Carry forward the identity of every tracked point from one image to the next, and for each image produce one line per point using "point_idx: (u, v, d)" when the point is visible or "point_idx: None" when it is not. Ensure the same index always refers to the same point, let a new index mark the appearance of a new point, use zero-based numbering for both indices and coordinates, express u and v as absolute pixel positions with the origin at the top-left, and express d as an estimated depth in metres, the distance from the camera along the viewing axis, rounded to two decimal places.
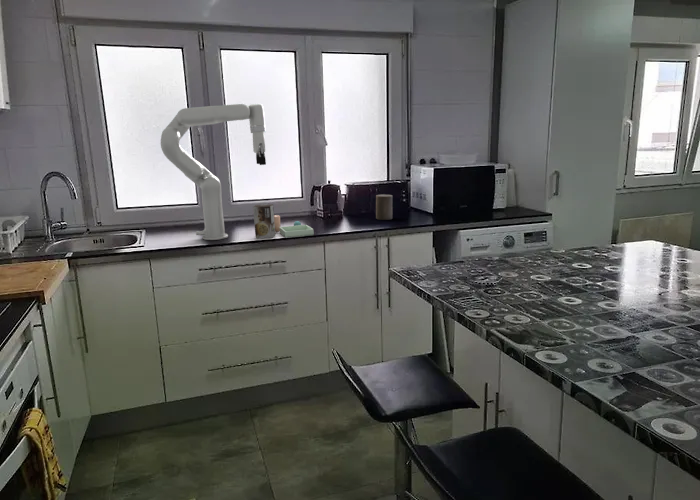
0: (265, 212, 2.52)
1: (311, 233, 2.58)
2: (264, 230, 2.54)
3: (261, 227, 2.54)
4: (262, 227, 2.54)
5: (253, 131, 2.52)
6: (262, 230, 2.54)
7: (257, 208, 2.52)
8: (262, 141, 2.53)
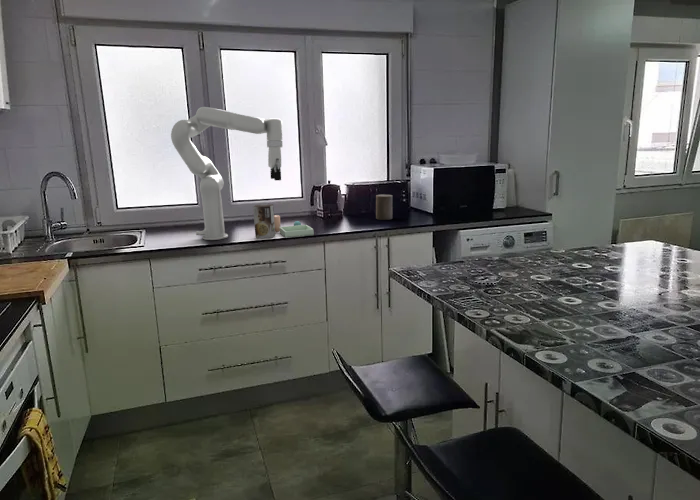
0: (265, 212, 2.52)
1: (311, 233, 2.58)
2: (264, 230, 2.54)
3: (261, 227, 2.54)
4: (262, 227, 2.54)
5: (270, 146, 2.47)
6: (262, 230, 2.54)
7: (257, 208, 2.52)
8: (279, 156, 2.47)
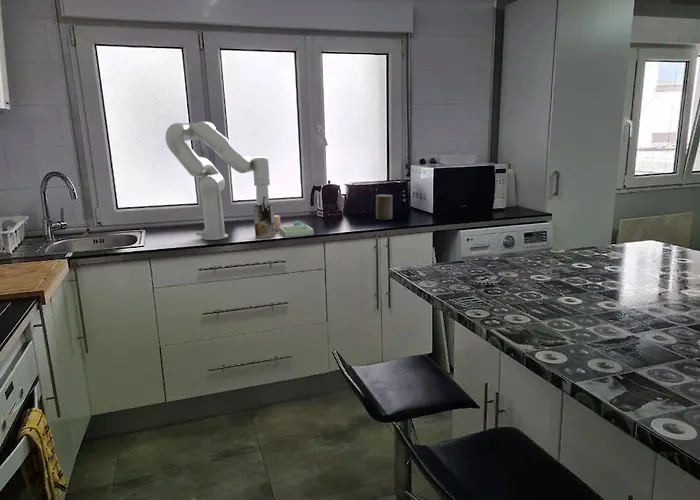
0: None
1: (311, 233, 2.58)
2: (264, 230, 2.54)
3: (261, 227, 2.54)
4: (262, 227, 2.54)
5: (257, 184, 2.49)
6: (262, 230, 2.54)
7: (257, 208, 2.52)
8: (266, 194, 2.49)
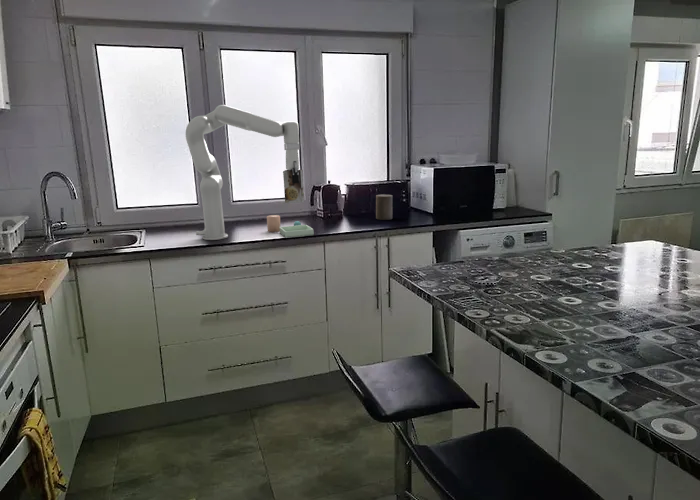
0: None
1: (311, 233, 2.58)
2: (294, 195, 2.55)
3: (291, 192, 2.55)
4: (292, 192, 2.55)
5: (287, 148, 2.50)
6: (292, 195, 2.55)
7: (287, 172, 2.53)
8: (296, 159, 2.50)
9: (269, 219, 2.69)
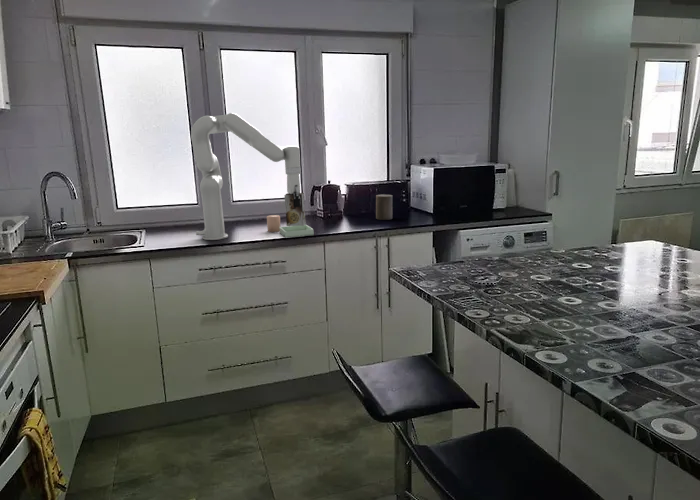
0: None
1: (311, 233, 2.58)
2: (295, 218, 2.58)
3: (292, 215, 2.58)
4: (293, 215, 2.58)
5: (289, 173, 2.53)
6: (293, 218, 2.58)
7: (288, 196, 2.56)
8: (297, 183, 2.53)
9: (269, 219, 2.69)
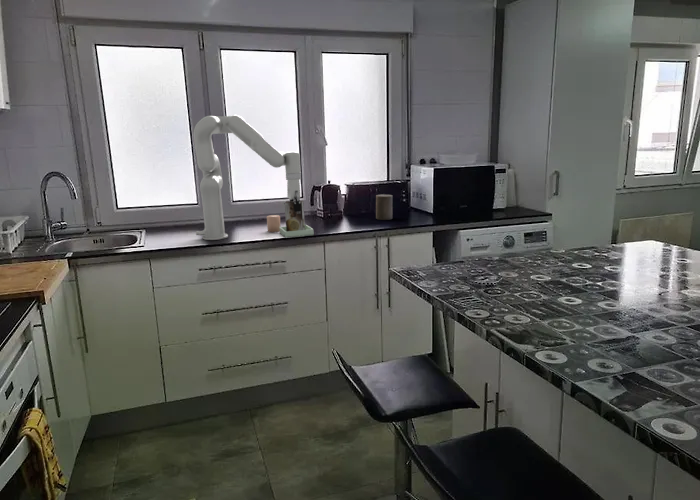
0: None
1: (311, 233, 2.58)
2: (295, 226, 2.59)
3: (292, 223, 2.59)
4: (293, 223, 2.59)
5: (289, 178, 2.53)
6: (293, 226, 2.59)
7: (288, 204, 2.57)
8: (298, 188, 2.53)
9: (269, 219, 2.69)
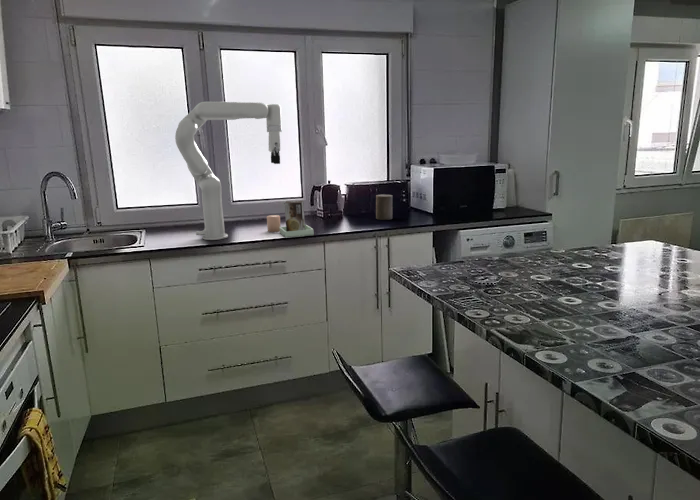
0: (296, 209, 2.57)
1: (311, 233, 2.58)
2: (295, 226, 2.59)
3: (292, 223, 2.59)
4: (293, 223, 2.59)
5: (269, 130, 2.56)
6: (293, 226, 2.59)
7: (288, 204, 2.57)
8: (278, 140, 2.56)
9: (269, 219, 2.69)
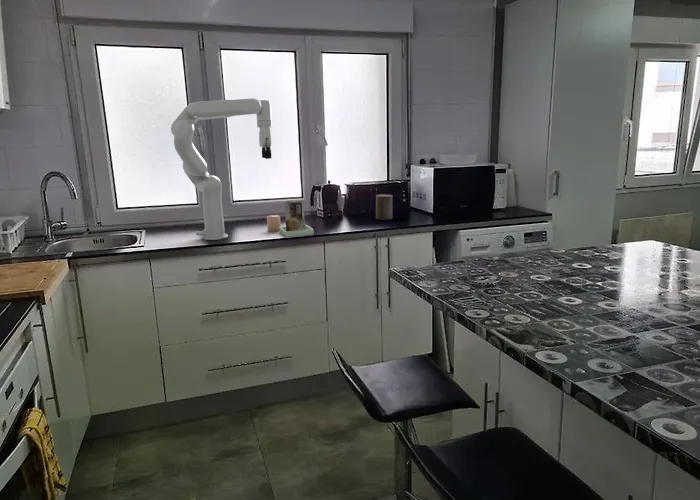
0: (296, 209, 2.57)
1: (311, 233, 2.58)
2: (295, 226, 2.59)
3: (292, 223, 2.59)
4: (293, 223, 2.59)
5: (260, 125, 2.60)
6: (293, 226, 2.59)
7: (288, 204, 2.57)
8: (268, 135, 2.60)
9: (269, 219, 2.69)
